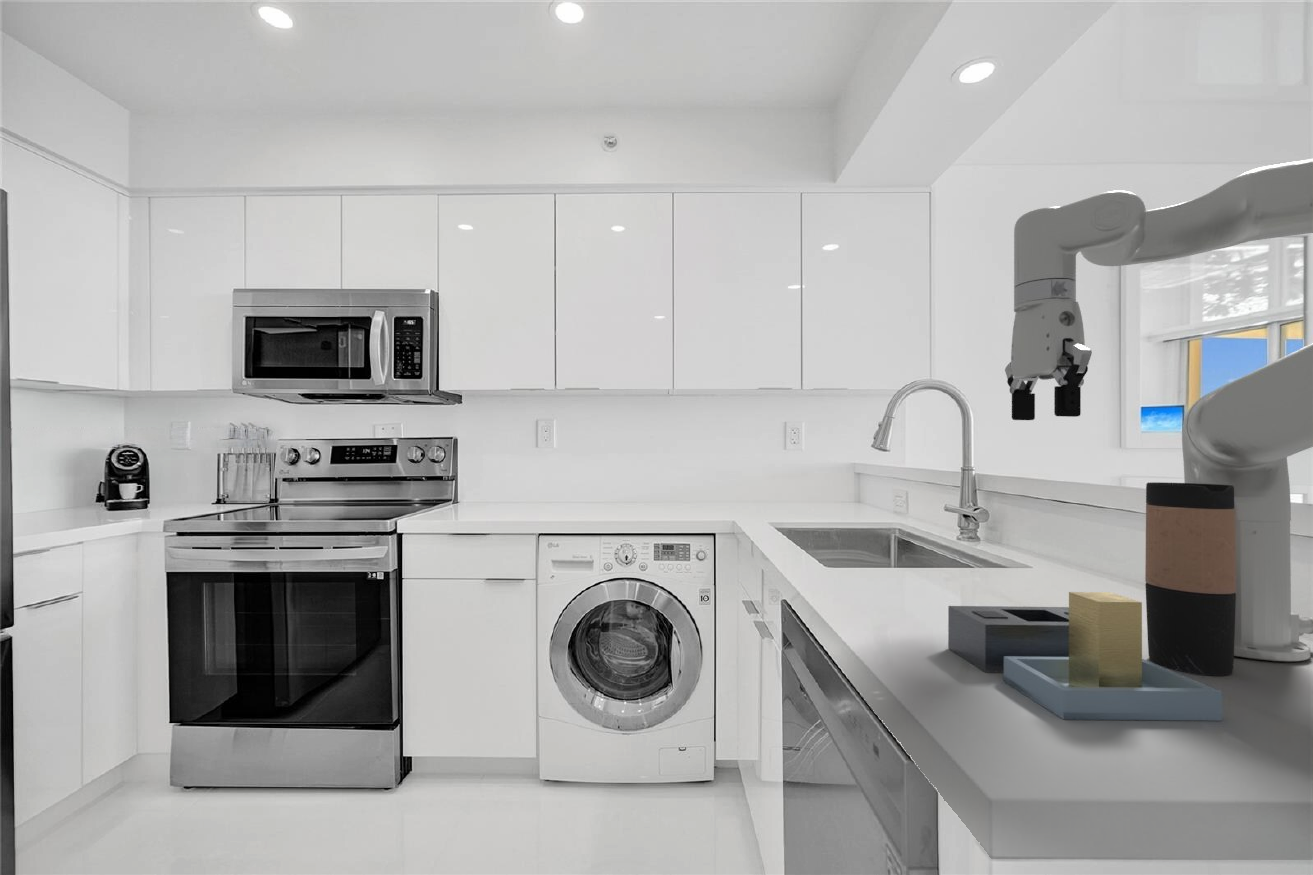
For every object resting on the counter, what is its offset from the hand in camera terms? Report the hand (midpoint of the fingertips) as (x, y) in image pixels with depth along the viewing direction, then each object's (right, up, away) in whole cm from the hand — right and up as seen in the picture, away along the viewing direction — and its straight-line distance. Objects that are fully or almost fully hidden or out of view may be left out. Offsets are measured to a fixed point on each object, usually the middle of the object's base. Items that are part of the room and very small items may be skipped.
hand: (1044, 418), depth 89 cm
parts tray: (-13, -27, -30) cm, 43 cm away
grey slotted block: (-13, -28, -19) cm, 36 cm away
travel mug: (+4, -28, -20) cm, 34 cm away
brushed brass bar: (-13, -27, -30) cm, 42 cm away
